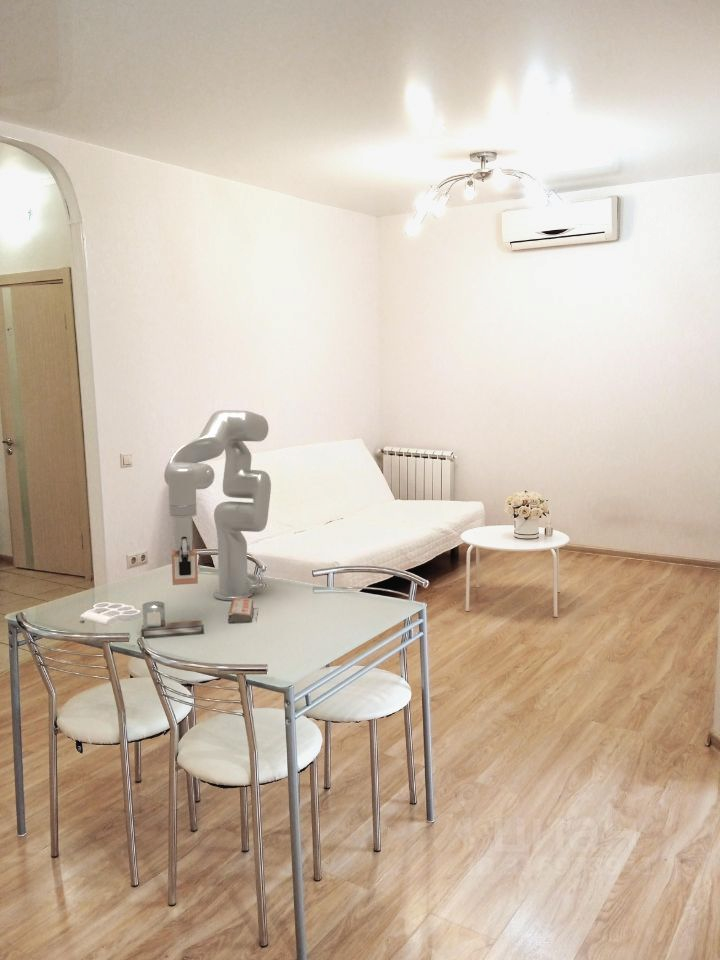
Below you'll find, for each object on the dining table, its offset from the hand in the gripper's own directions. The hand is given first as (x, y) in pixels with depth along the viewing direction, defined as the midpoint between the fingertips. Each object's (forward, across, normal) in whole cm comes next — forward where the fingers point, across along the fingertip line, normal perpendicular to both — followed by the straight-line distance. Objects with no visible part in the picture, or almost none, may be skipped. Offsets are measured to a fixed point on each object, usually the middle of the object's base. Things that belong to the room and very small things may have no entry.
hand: (184, 571), depth 232 cm
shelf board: (+17, +2, -4) cm, 18 cm away
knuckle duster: (+18, -15, -21) cm, 32 cm away
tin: (+16, +3, -9) cm, 19 cm away
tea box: (+3, 0, 0) cm, 3 cm away
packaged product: (+18, -6, +16) cm, 25 cm away
